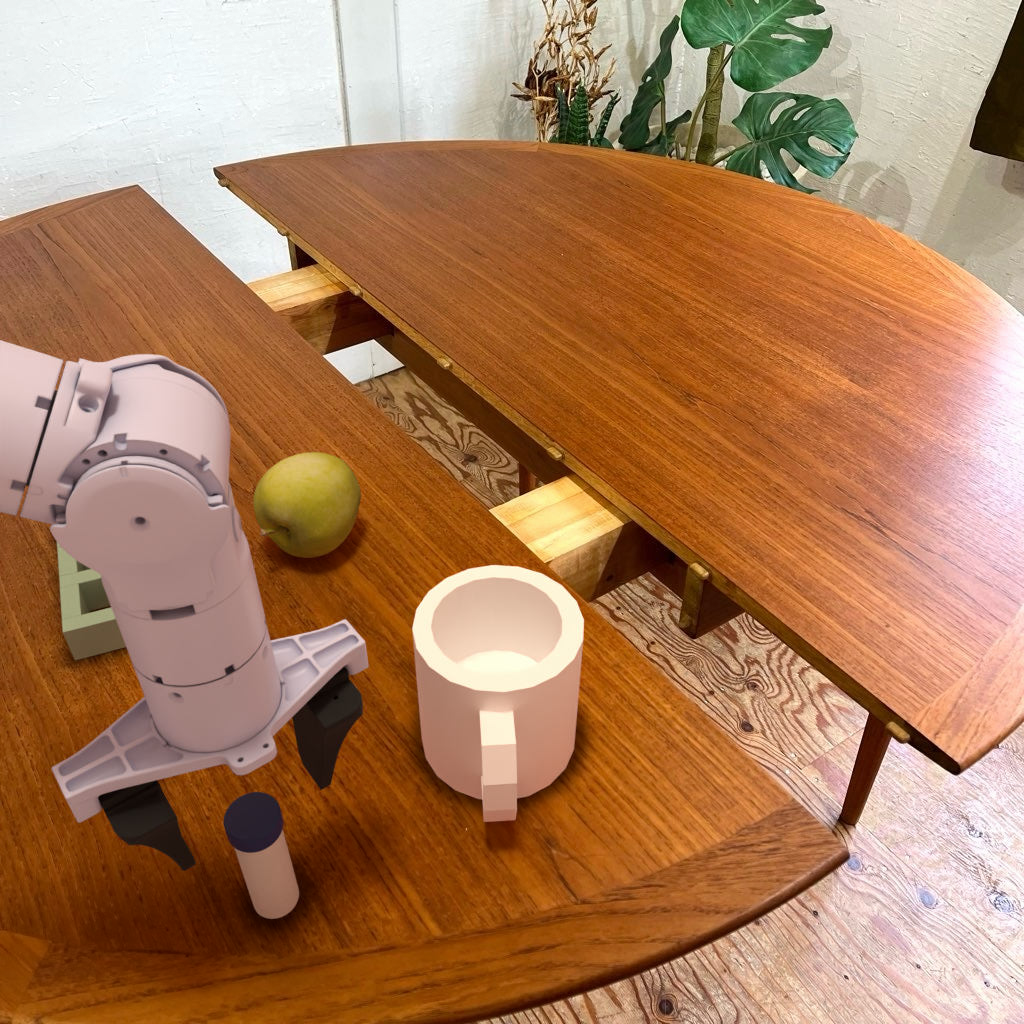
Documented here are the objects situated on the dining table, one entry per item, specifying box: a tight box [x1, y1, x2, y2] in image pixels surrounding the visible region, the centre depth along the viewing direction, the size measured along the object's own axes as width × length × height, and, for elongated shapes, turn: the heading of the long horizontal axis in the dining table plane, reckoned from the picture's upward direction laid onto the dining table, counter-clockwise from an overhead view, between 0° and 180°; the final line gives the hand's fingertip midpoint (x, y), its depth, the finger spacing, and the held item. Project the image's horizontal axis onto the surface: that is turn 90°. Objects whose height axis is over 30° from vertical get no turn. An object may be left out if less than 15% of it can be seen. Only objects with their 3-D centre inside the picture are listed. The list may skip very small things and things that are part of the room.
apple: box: [252, 451, 362, 559], centre depth 75 cm, size 8×9×8 cm
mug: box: [411, 564, 585, 823], centre depth 59 cm, size 14×10×11 cm
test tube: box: [223, 791, 300, 920], centre depth 52 cm, size 3×3×8 cm
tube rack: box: [56, 541, 126, 661], centre depth 74 cm, size 15×6×3 cm, turn 22°
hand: (252, 812), depth 50 cm, fingers open, 7 cm apart
